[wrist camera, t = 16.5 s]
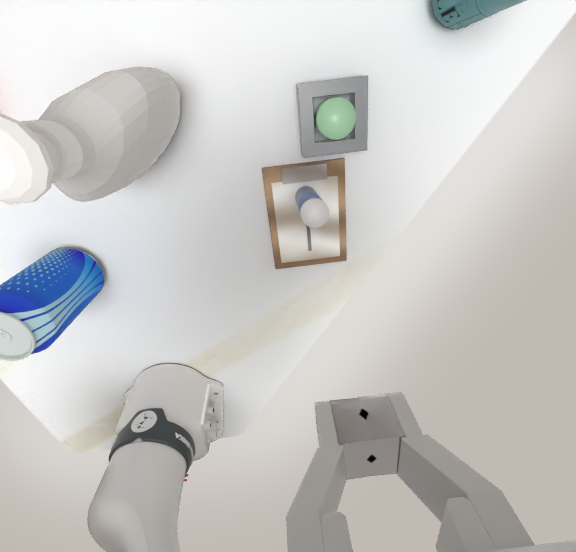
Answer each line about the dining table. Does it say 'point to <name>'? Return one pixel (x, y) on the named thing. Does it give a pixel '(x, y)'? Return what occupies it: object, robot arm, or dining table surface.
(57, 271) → the beer can
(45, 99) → the dining table surface
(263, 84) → the dining table surface
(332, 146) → the button housing
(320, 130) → the button
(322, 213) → the marker
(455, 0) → the beverage bottle
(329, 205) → the clipboard
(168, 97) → the soap bottle
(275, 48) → the dining table surface
